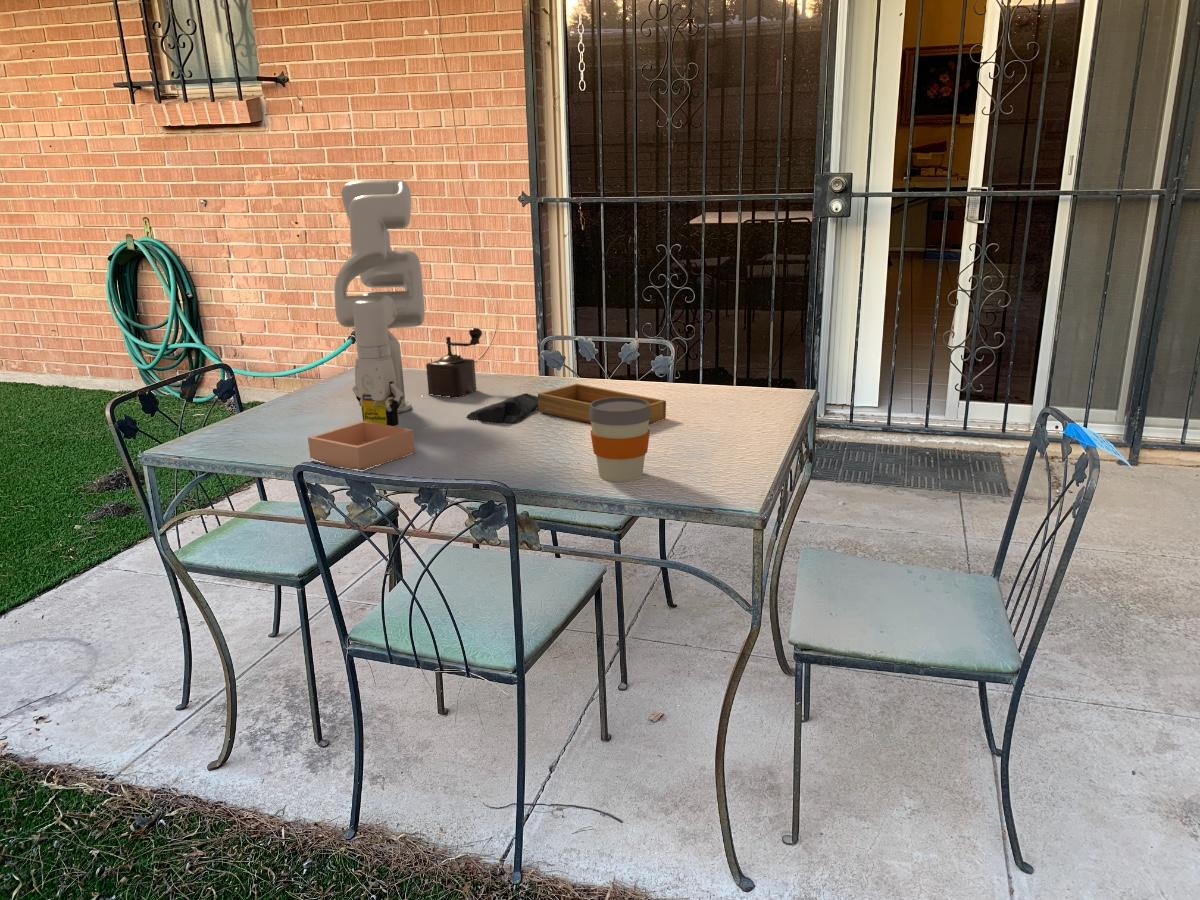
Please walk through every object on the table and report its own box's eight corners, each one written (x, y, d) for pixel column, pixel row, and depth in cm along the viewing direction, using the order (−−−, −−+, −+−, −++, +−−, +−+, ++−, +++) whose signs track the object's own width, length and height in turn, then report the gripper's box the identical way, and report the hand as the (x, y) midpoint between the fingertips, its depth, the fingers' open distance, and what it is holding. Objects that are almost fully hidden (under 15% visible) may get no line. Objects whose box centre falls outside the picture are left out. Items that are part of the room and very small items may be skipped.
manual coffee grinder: (459, 398, 249) (455, 335, 243) (427, 395, 253) (422, 333, 248) (488, 386, 262) (484, 327, 257) (457, 384, 266) (453, 325, 261)
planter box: (310, 461, 194) (307, 437, 192) (365, 443, 207) (363, 420, 205) (360, 472, 185) (357, 447, 184) (414, 453, 198) (412, 429, 196)
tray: (666, 420, 222) (666, 398, 220) (628, 433, 211) (627, 410, 209) (577, 403, 241) (576, 383, 240) (538, 414, 230) (537, 393, 229)
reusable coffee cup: (600, 463, 187) (598, 395, 183) (657, 467, 184) (657, 398, 179) (582, 482, 176) (580, 410, 172) (643, 486, 172) (642, 413, 168)
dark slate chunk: (553, 407, 238) (553, 390, 237) (512, 427, 219) (511, 408, 218) (505, 402, 245) (504, 385, 243) (461, 421, 226) (459, 403, 224)
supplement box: (365, 438, 211) (360, 394, 208) (375, 431, 217) (371, 388, 213) (388, 439, 210) (384, 394, 207) (398, 432, 216) (394, 388, 212)
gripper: (336, 351, 209) (344, 422, 214) (387, 357, 200) (394, 432, 205) (360, 346, 215) (367, 416, 220) (411, 352, 206) (417, 424, 211)
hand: (380, 423), depth 212 cm, fingers closed on supplement box, 7 cm apart
